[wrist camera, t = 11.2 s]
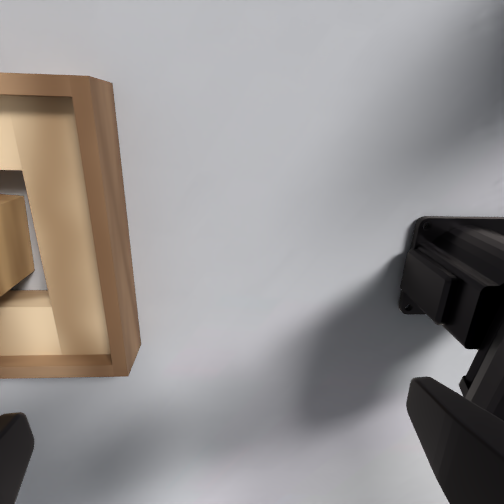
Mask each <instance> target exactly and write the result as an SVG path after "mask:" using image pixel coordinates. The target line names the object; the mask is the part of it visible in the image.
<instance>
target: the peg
mask: <svg viewBox="0 0 504 504" xmlns="http://www.w3.org/2000/svg"><path fill="white" fill-rule="evenodd" d="M33 271H35V270H34V263H33V256H32V249H31V242H30V235H29V228H28V221H27V214H26V207H25V200H24V196H18V195H6V194H0V297H1V296H2V295H3V294H5V293H6V292H7V291H8V290H10V289H11V288H12V287H14V286H15V285H16V284H18V283H19V282H20V281H21V280H23V279H24V278H25V277H27V276H28V275H29V274H31V273H32V272H33Z"/></svg>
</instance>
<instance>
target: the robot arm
mask: <svg viewBox="0 0 504 504" xmlns="http://www.w3.org/2000/svg"><path fill="white" fill-rule="evenodd" d="M426 222H428V225H427V227H425V228H423V225H424V224H425V223H426ZM400 288H401V289H402V290H401V295H400V300H399V309H400V310H401V311H402V312H403V313H404V314H427V315H428V316H429V317H430V318H431V319H432V320H433V321H434V322H435V323H436V324H437V325H442V326H443V327H444V328H445V329H446V330H447V331H449V332H450V333H451V334H452V335H453V336H454V337H455V338H456V339H457V340H458V341H459V342H460V343H461V344H462V345H463V346H464V347H465V348H466V349H477V350H478V352H477V354H476V356H475V358H474V360H473V362H472V364H471V366H470V368H469V370H468V373H467V375H466V376H463V377H462V379H461V381H460V383H459V387H460V389H461V392H462V394H463V396H464V397H463V396H461V395H459V394H458V393H456V392H454V391H453V390H451V389H449V388H448V387H446V386H444V385H443V384H441V383H439V382H438V381H436V380H434V379H433V378H431V377H418V378H413V379H412V380H411V383H410V387H409V392H408V397H407V403H406V406H407V412H408V415H409V417H410V419H411V422H412V424H413V426H414V428H415V431H416V433H417V435H418V438H419V440H420V442H421V445H422V447H423V449H424V452H425V454H426V456H427V459H428V461H429V463H430V466H431V468H432V470H433V472H434V474H435V477H436V479H437V481H438V483H439V485H440V486H441V488H442V490H443V492H444V494H445V496H446V498H447V500H448V501H449V503H450V504H504V217H445V216H424V217H421V218H419V219H418V220H417V222H416V224H415V229H414V234H413V238H412V243H411V248H410V251H409V252H408V253H407V258H406V262H405V267H404V272H403V277H402V281H401V286H400ZM408 304H410V305H409V306H408V307H407V308H405V307H406V305H408ZM33 449H34V436H33V434H32V431H31V428H30V425H29V422H28V420H27V417H26V415H25V414H24V413H21V412H19V413H8V414H3V415H1V416H0V504H15V501H16V498H17V495H18V492H19V489H20V487H21V484H22V481H23V478H24V475H25V472H26V469H27V467H28V464H29V461H30V458H31V455H32V452H33Z"/></svg>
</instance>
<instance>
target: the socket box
mask: <svg viewBox="0 0 504 504" xmlns="http://www.w3.org/2000/svg"><path fill="white" fill-rule="evenodd" d="M0 170H22V172H23V176H24V181H25V186H26V190H27V195H28V200H29V204H30V209H31V214H32V218H33V223H34V227H35V232H36V237H37V241H38V246H39V251H40V255H41V260H42V265H43V269H44V274H45V279H46V283H47V288H48V290H8V291H7V292H6V293H5V294H3V295H2V296H1V297H0V379H5V378H62V377H118V376H129V373H130V371H131V368H132V366H133V363H134V361H135V358H136V356H137V353H138V351H139V348H140V346H141V340H140V331H139V322H138V312H137V303H136V294H135V285H134V276H133V267H132V258H131V249H130V240H129V230H128V221H127V212H126V203H125V194H124V185H123V176H122V167H121V158H120V148H119V139H118V130H117V121H116V112H115V103H114V94H113V85H112V83H110V82H107V81H103V80H100V79H97V78H94V77H90V76H76V75H49V74H22V73H0Z"/></svg>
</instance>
